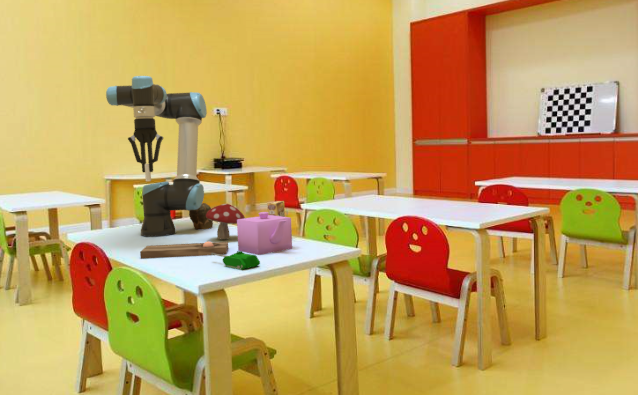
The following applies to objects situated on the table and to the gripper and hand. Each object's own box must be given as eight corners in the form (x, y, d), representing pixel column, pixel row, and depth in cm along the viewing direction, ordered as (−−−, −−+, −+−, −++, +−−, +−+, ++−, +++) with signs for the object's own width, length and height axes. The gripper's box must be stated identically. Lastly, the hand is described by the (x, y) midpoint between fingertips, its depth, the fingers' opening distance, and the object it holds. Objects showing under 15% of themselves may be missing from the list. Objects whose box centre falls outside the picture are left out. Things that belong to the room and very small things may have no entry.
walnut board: (147, 252, 216) (147, 245, 215) (228, 248, 218) (228, 241, 218) (140, 258, 204) (140, 251, 204) (226, 254, 206) (225, 247, 206)
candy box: (278, 241, 230) (276, 203, 229) (268, 241, 231) (267, 203, 230) (286, 237, 238) (284, 200, 237) (276, 237, 240) (275, 200, 238)
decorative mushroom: (243, 235, 248) (241, 200, 246) (248, 241, 232) (246, 204, 231) (205, 238, 244) (203, 203, 242) (208, 244, 228) (206, 206, 227)
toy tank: (223, 260, 197) (222, 245, 197) (260, 267, 184) (259, 251, 184) (207, 263, 192) (206, 249, 192) (243, 271, 179) (243, 255, 179)
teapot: (270, 257, 198) (268, 217, 197) (231, 249, 217) (229, 212, 216) (304, 251, 208) (303, 212, 207) (264, 243, 227) (262, 208, 225)
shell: (191, 227, 278) (190, 202, 277) (214, 226, 279) (213, 201, 278) (188, 230, 268) (187, 204, 266) (212, 229, 269) (211, 203, 267)
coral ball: (201, 247, 213) (206, 238, 213) (210, 252, 214) (216, 243, 214) (200, 250, 209) (205, 240, 209) (210, 255, 210) (215, 246, 210)
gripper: (124, 118, 212) (128, 182, 214) (160, 117, 213) (164, 181, 215) (129, 119, 219) (133, 181, 221) (163, 118, 220) (167, 179, 222)
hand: (148, 180), depth 218 cm, fingers closed
